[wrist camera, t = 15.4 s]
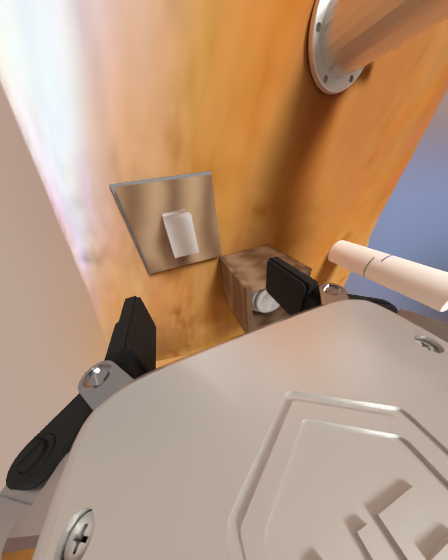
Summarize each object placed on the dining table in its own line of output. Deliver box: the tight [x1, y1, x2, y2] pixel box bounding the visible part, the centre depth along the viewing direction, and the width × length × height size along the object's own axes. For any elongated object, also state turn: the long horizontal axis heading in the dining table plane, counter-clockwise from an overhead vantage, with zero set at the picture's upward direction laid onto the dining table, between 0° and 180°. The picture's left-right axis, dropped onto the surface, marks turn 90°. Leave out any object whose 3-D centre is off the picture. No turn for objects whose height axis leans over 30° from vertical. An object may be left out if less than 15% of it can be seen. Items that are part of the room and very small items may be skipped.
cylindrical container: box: [328, 240, 448, 312], centre depth 40 cm, size 7×7×25 cm
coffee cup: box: [252, 288, 280, 313], centre depth 37 cm, size 9×9×12 cm
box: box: [219, 244, 312, 333], centre depth 36 cm, size 13×13×14 cm
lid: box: [114, 175, 221, 274], centre depth 27 cm, size 15×15×7 cm
